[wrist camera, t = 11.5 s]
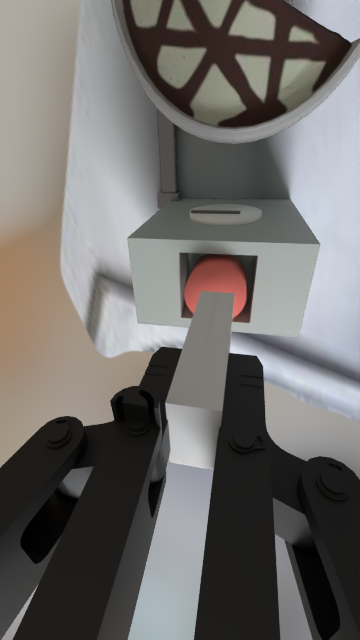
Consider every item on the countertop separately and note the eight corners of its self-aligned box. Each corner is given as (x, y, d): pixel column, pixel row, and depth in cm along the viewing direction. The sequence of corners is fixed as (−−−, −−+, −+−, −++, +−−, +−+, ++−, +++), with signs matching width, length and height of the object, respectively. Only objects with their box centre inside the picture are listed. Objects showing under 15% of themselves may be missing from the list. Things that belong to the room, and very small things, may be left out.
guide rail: (174, -94, 17) (169, -108, 16) (181, 205, 26) (178, 208, 25) (145, -89, 18) (138, -103, 17) (161, 205, 27) (158, 208, 26)
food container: (132, 92, 22) (66, 67, 14) (163, -17, 19) (99, -132, 11) (270, 171, 23) (283, 190, 15) (323, 81, 20) (377, 43, 12)
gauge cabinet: (291, 192, 24) (322, 234, 14) (279, 263, 27) (298, 337, 17) (172, 192, 26) (126, 228, 16) (175, 258, 29) (137, 323, 19)
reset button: (249, 252, 17) (249, 268, 15) (244, 304, 19) (243, 324, 17) (190, 250, 17) (183, 265, 15) (191, 300, 19) (184, 320, 17)
